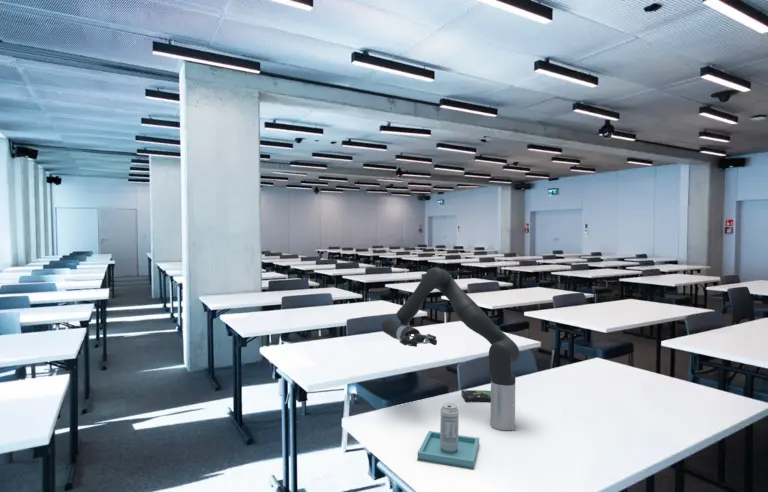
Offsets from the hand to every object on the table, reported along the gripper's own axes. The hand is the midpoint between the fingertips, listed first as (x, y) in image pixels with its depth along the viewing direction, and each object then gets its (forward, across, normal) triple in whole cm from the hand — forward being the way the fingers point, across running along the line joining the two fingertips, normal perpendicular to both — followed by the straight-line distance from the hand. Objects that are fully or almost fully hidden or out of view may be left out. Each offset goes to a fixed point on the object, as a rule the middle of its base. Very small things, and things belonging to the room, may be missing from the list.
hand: (426, 343), depth 175 cm
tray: (+23, -3, +32) cm, 40 cm away
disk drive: (-19, +38, +33) cm, 53 cm away
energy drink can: (+23, -3, +31) cm, 39 cm away
